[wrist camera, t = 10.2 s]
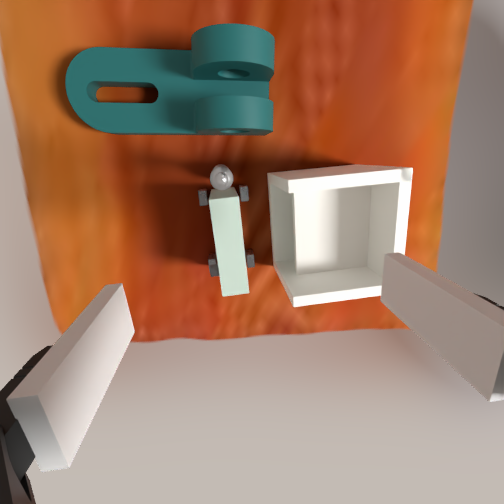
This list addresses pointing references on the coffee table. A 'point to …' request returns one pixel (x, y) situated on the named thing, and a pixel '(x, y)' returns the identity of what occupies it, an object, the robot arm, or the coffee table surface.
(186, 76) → the bracket
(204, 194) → the small parts
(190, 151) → the coffee table surface
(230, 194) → the door
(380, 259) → the cabinet
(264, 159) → the coffee table surface
